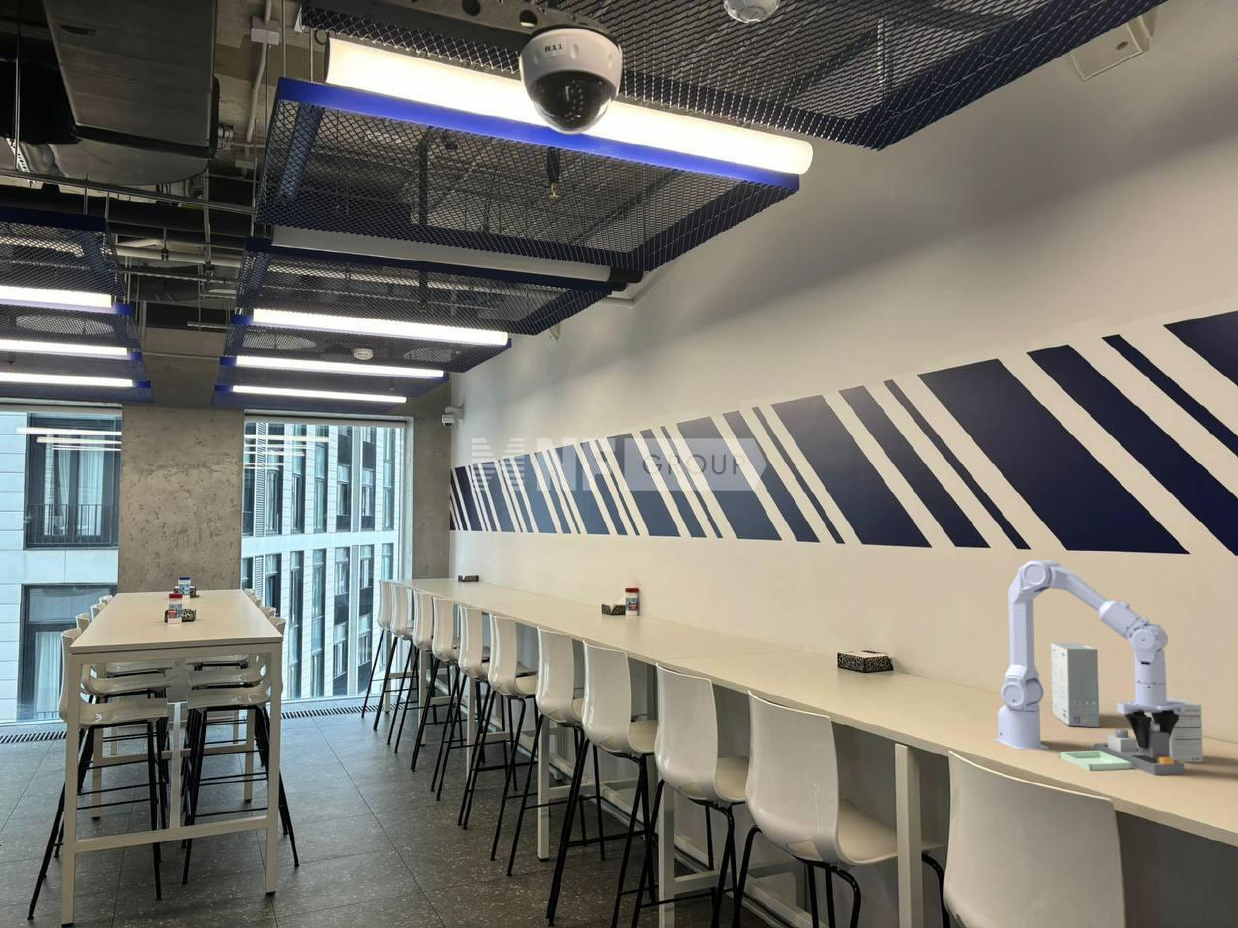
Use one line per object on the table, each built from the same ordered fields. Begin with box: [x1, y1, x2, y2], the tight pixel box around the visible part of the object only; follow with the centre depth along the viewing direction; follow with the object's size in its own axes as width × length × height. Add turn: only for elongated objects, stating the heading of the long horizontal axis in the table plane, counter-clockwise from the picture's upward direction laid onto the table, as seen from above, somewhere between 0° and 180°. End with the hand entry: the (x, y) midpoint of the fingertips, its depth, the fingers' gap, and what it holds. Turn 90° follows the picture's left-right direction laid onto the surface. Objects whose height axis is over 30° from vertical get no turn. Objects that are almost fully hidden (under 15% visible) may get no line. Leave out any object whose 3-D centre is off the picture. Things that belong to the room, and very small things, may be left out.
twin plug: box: [1107, 728, 1138, 752], centre depth 196 cm, size 4×4×6 cm
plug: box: [1137, 723, 1170, 758], centre depth 187 cm, size 4×4×6 cm
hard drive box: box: [1050, 641, 1100, 728], centre depth 235 cm, size 16×8×20 cm, turn 168°
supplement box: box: [1149, 697, 1204, 763], centre depth 198 cm, size 7×7×13 cm
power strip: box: [1093, 742, 1186, 776], centre depth 191 cm, size 18×7×4 cm, turn 9°
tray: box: [1058, 750, 1134, 771], centre depth 191 cm, size 10×10×2 cm
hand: (1152, 747), depth 187 cm, fingers closed on plug, 4 cm apart
